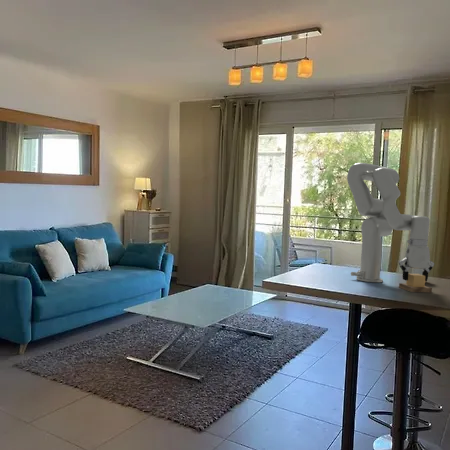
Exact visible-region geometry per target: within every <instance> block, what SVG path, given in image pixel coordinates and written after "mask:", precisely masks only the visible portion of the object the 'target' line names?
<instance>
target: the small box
mask: <svg viewBox="0 0 450 450" xmlns="http://www.w3.org/2000/svg"><path fill="white" fill-rule="evenodd" d="M423 271H424V270H423V269H421V268H413V273H412V274H420V275H422V273H423ZM427 282H428V280H427V281H425V283H427Z"/></svg>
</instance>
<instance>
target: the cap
mask: <svg viewBox="0 0 450 450" xmlns="http://www.w3.org/2000/svg"><path fill="white" fill-rule="evenodd" d="M405 281H406V282H405V283H406V284H407V285H410V286H413V287H425V286H426V282H425V276H424V275H420V274H413V273H408V280H405Z"/></svg>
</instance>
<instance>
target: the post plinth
mask: <svg viewBox="0 0 450 450" xmlns="http://www.w3.org/2000/svg"><path fill="white" fill-rule="evenodd" d="M398 285H399V286H398V288H400V289H402V290H405V291H407V292H410V293H433V292H432V291H433V288H432V287H430V286H426V285H425V287H413V286H410V285H407V284H406V282H404V283H403V282H400V283H399V284H398Z"/></svg>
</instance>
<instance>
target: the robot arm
mask: <svg viewBox="0 0 450 450" xmlns="http://www.w3.org/2000/svg"><path fill="white" fill-rule="evenodd" d="M399 174H400V173H398V171H397V170H396V169H393V168H390V167H385V166H382V165H378V164H373V163H367V162H357V163H354V164H352V165H351V166H350V167H349V169H348V171H347V176H346V179H347V185H348V187H349V189H350V191H351V194H352V196H353V200H354V203H355V206H356V209H357V211H358V213H359V215H360V216H362V217H367V218H365V219H364V220H363V221H362V223H361V226H360V227H361V229H360V230H361V238H362V239H361V241H362V242H361V243H362V244H361V255H360V268H359V270H357V271H351V272H350V276H352V277H354V276H355V277H356V280H358V281H360V282H366V283H382V282H383V281H384V279H383V278H381V277H380V276H381V265H382V264H381V263H382V253H383V243H382V238H381V237H387V236H390V235H391V234H392V233H393V230H395V231H410V233H409V239H408V240H407V242H406V243H407V244H408V246H407V247H406V250H405V251H406V252H405V255H404V258H401V260H398V265H399V267H400V269H401V270H402V280H404V281H407V280H408V274H410V272H409V270H410V269H414V268H421V269H423V270H424V271H423V273H422V275H424V276H425V281H427V282H428V278H429V273H430V272H431V271H432V269H433V268H434V266H435V262H433V261H432V260H431V259H430V258H431V257H430V255H431V254H430V252H431V251H430V246H428V240H429V230H430V221H431V219H430V218H429V217H428V216H424V215H413V214H407V213H405V214H404V213H403V214H402V213H401V212H400V210H399V208H398V206H397V199H398V198H399V197H400V196H401V191H400V189H399V187H398V183H399V181H400V175H399ZM365 181H370V182H374V185H375V186H376V188H377V190H378V192H379V195H380V196H381V198H382V199H381V198H374V197H373V195H372V194H371V190H370V188H369V186H368V185H367V184H366V182H365Z"/></svg>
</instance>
